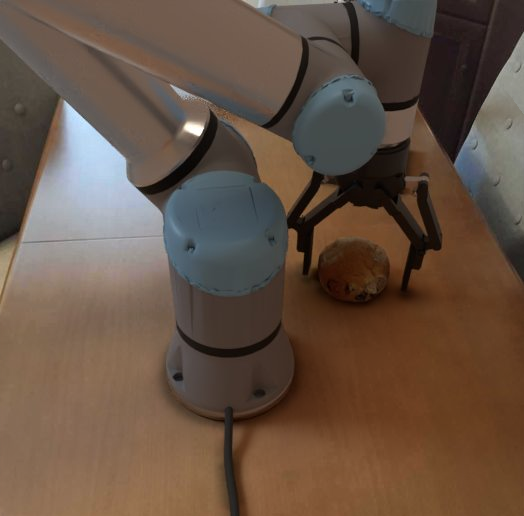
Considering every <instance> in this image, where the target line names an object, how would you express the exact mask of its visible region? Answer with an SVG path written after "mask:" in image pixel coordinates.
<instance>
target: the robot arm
mask: <svg viewBox="0 0 524 516" xmlns="http://www.w3.org/2000/svg"><path fill="white" fill-rule="evenodd" d="M437 5H438V0H355V1H347V2H344V3H334V2H330V3H329V2H328V3H310V4H309V3H308V4H291V5H290V4H289V5H288V4H287V5H277V4H270V5H268V6H262V7H255V6H253V5H251V4H249V3H248V2H246V1H244V0H0V40H1V42H3V43H4V44H5V45H6V46H7V47H8V48H9V49H10V50H11V51H12V52H14V54H15V55H16V56H17V57H19V59H20V60H22V61H23V62H24V63H25V64H26V65H27V66H28V67H29V68H30V69H31V70H32V71H33V72H34V73H35V74H37V76H39V78H41V79H42V80H43V82H45V83H46V84H47V85H48V86H49V87H50V88H51V89H52V90H53V91H54V92H55V93H56V94H57V95H58V96H60V98H61V99H63V100H64V101H65V102H66V104H68V105H69V106H70V107H71V108H72V109H73V110H74V111H75V112H76V113H77V114H78V115H79V116H80V117H82V118H83V120H85V122H87V123H88V124H89V125H90V126H91V127H92V128H93V129H94V130H95V131H96V132H97V133H98V134H99V135H100V136H101V137H102V138H103V139H105V140H106V141H107V142H108V143H109V145H110V146H112V147H113V148H114V149H115V150H116V151H117V152H118V153H119V154H120V155H121V156H122V157H123V158H124V159H125V172H126V173H125V174H126V178H127V181H128V182H129V183H130V184H131V185H132V186H133V187H134V188H135V189H136V190H137V191H139V192H140V193H141V194H142V195H143V196H144V197H145V198H146V199H147V200H148V201H150V203H151V204H153V205H154V206H155V208H157V210H159V212H160V213H161V215H162V218H163V220H162V221H163V225H162V237H163V244H164V250H165V252H166V254H167V263H168V271H169V277H170V279H169V280H170V286H171V294H172V304H173V311H174V318H175V319H174V320H175V327H174V330H173V332H172V335H171V339H170V342H169V346H168V348H167V351H166V356H165V375H166V381H167V384H168V387H169V389H170V391H171V394H172V395H173V396H174V398H175V399H176V400H177V401H178V402H179V403H180V404H181V405H182V406H183V407H185V408H186V409H188V410H189V411H191V412H192V413H195V414H197V415H199V416H202V417H204V418H208V419H212V420H219V421H224V432H223V433H224V437H223V458H224V459H223V462H224V463H223V464H224V475H225V481H226V488H227V494H228V499H229V500H228V501H229V508H230V509H229V511H230V512H229V513H230V516H240V513H241V512H240V503H239V496H238V490H237V485H236V484H237V483H236V479H235V477H236V476H235V470H234V462H233V461H234V460H233V438H234V437H233V435H234V434H233V433H234V432H233V430H234V421H240V420H247V419H250V418H251V419H252V418H253V417H257V416H259V415H262V414H264V413H266V412H268V411H269V410H271V409H272V408H275V406H277V405H278V404H279V403H280V402H281V401H282V400H283V399H284V398H285V397H286V395H287V394H288V392H289V391H290V389H291V387H292V383H293V382H294V381H293V380H294V376H295V375H294V374H295V357H294V350H293V347H292V345H291V342H290V340H289V337H288V334H287V331H286V329H285V327H284V324H283V322H282V321H283V307H284V291H285V276H286V262H287V261H286V260H287V253H288V250H289V238H290V236H289V230H294V231H295V232H296V251H297V252H298V253H303V261H302V276H306V277H307V276H309V274H310V273H309V272H310V269H311V265H312V258H313V247H314V235H315V227H316V226H317V225H319V224H320V223H321V222H322V221H324V220H325V219H327V218H328V217H329V216H330V215H331V214H333V213H334V212H335V211H336V210H338V209H339V210H340V209H342V208H343V207H345V206H346V205H347V204H348V203H350V204H352V206H353V207H358V208H361V207H362V208H363V207H367V208H370V209H373V210H379V209H380V208H384V210H385V211H386V213H388V215H389V216H390V217H392V218H393V219H394V221H395V223H396V224H397V225H398V227H399V228H400V229H401V231H402V232H403V234H404V235H405V237H406V238H407V239H408V240H409V242H410V243H409V248H408V253H407V256H406V261H405V265H404V269H403V274H402V278H401V285H400V287H401V288H400V291H401V292H407V290H408V287H409V282H410V278H411V275H412V271H413V270H414V271H420V269H422V265H423V261H424V257H425V255H426V254H427V252H428V251H430V250H433V251H434V252H438V251H440V250H442V248H443V233H442V229H441V227H440V222H439V220H438V216H437V213H436V210H435V207H434V204H433V201H432V197H431V194H430V192H429V185H430V174H429V173H428V172H425V171H424V172H422V173H420V174H419V176H409V175H408V176H407V174H406V175H405V171H404V170H405V165H406V160H407V155H408V150H409V151H410V148H409V145H410V146H411V142H410V140H411V136H412V135H413V129H414V125H415V120H416V115H417V110H418V105H419V100H420V99H419V98H420V93H421V87H422V82H423V79H424V72H425V69H426V64H427V58H428V54H429V50H430V46H431V42H432V41H431V40H432V38H433V37H434V33H435V32H434V29H435V23H436V14H437V7H438V6H437ZM172 86H173V87H175V88H177V89H179V90H180V91H181V90H182V91H184V92H186V93H188V94H190V95H192V96H193V97H196V98H199V99H184V98H182V97H181V96H180V94H179V93H178V92H177V91H176V90H175V89H174V88H173V87H172ZM204 101H205V102H204ZM206 102H207V103H209V104H211V105H213V106H215V107H217V108H219V109H222V110H224V111H225V112H228V113H229V114H233V115H234V116H237V117H239V118H240V119H243V120H245V121H247V122H249V123H252V124H254V125H256V126H258V127H260V128H262V129H264V130H266V131H268V132H270V133H272V134H274V135H276V136H277V137H280V138H282V139H284V140H286V141H288V142H290V143H291V144H292V147H293V150H294V152H295V153H296V155H298V156H299V157H300V158H301V160H302V161H303V162H304V163H305V165H306V166H307V167H308V168H309V169H311V170H313V171H312V175H311V178H310V179H309V181H308V182H307V184H306V185H305V187H304V188H303V190H302V191H301V193H300V194H299V196H298V197H297V198H296V200H295V202H294V203H293V204H292V206H291V207H290V209H289V210H288V212H286V209H285V206H284V205H283V202H282V200H281V198H280V196H279V194H277V192H276V191H275V190H274V189H273V188H272V187H271V186H270V185H269V184H267V183H265V182H264V181H263V182H262V180H261V176H260V174H259V169H258V164H257V160H256V157H255V156H254V152H253V149H252V147H251V146H250V144H249V142H248V141H247V139H246V138H245V137H244V136H243V134H242V133H241V132H240V131H239V130H238V129H237V128H236V127H235V126H234V125H233V124H231V123H230V122H228V121H227V120H225V119H223V118H221V117H218V116H217V115H216V114H215V113H214V112H213V110H212V109H211V108H210V107H209V105H207V104H206ZM408 156H409V155H408ZM331 178H335V181H336V183H337V184H336V185H337V187H336V189H335V190H334V191H333V192H332V193H330V194H329V195H328V196H327V197H326V198H324V199H323V200H322V201H320V202H319V203H318V204H316V205H315V206H314V207H313V208H312V209H310V211H308V212H307V213H305V215H304V214H303V213H304V212H305V210H306V209H307V207H308V206H309V205H310V203H311V202H312V200H313V199H314V198H315V196H316V194H317V193H318V191H319V190H320V187H321V185H323V186H324V185H326V184H328V183H327V182H328V181H329V180H330V179H331ZM405 189H408V190H409V191H410V194H411V196H412V197H413V198H416V204H417V207H418V211H419V214H420V217H421V220H422V223H423V226H424V228H425V232H426V233H425V232H424V230H423V228H422V227H421V226H420V224H419V223H418V221H417V220H416V219H415V217H414V216H413V214H412V212H411V211H410V210H409V208H408V207H407V206H406V204H405V203H404V201H403V199H402V195H401V194H400V193H401V192H402V193H403V191H404V190H405ZM286 213H287V214H286Z"/></svg>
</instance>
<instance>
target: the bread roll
mask: <svg viewBox="0 0 524 516" xmlns="http://www.w3.org/2000/svg"><path fill="white" fill-rule="evenodd" d="M390 273H391V264H390V259H389V256H388V255H387V251H385V249H384V248H383V247H382V246H380V245H379V244H377V243H376V242H375V241H372V240H370V239H367V238H364V237H361V236H342V237H338V238H336V239H334V240H333V241H331V242H330V243H328V245H326V246H325V247H324V248H323V249H322V251H321V252H320V254H319V255H318V260H317V275H318V280H319V282H320V285H321V287H322V289H323V291H325V292H326V293H327V294H328V295H329V296H331V297H332V298H334V299H336V300H339V301H341V302H350V303H351V302H354V303H360V302H361V303H363V302H368V301H370V300H372V299H373V298H375V297H376V296H377V295H378V294H380V293H381V292H383V290H384V289H385V287H386V286H387V284H389V279H390Z"/></svg>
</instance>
